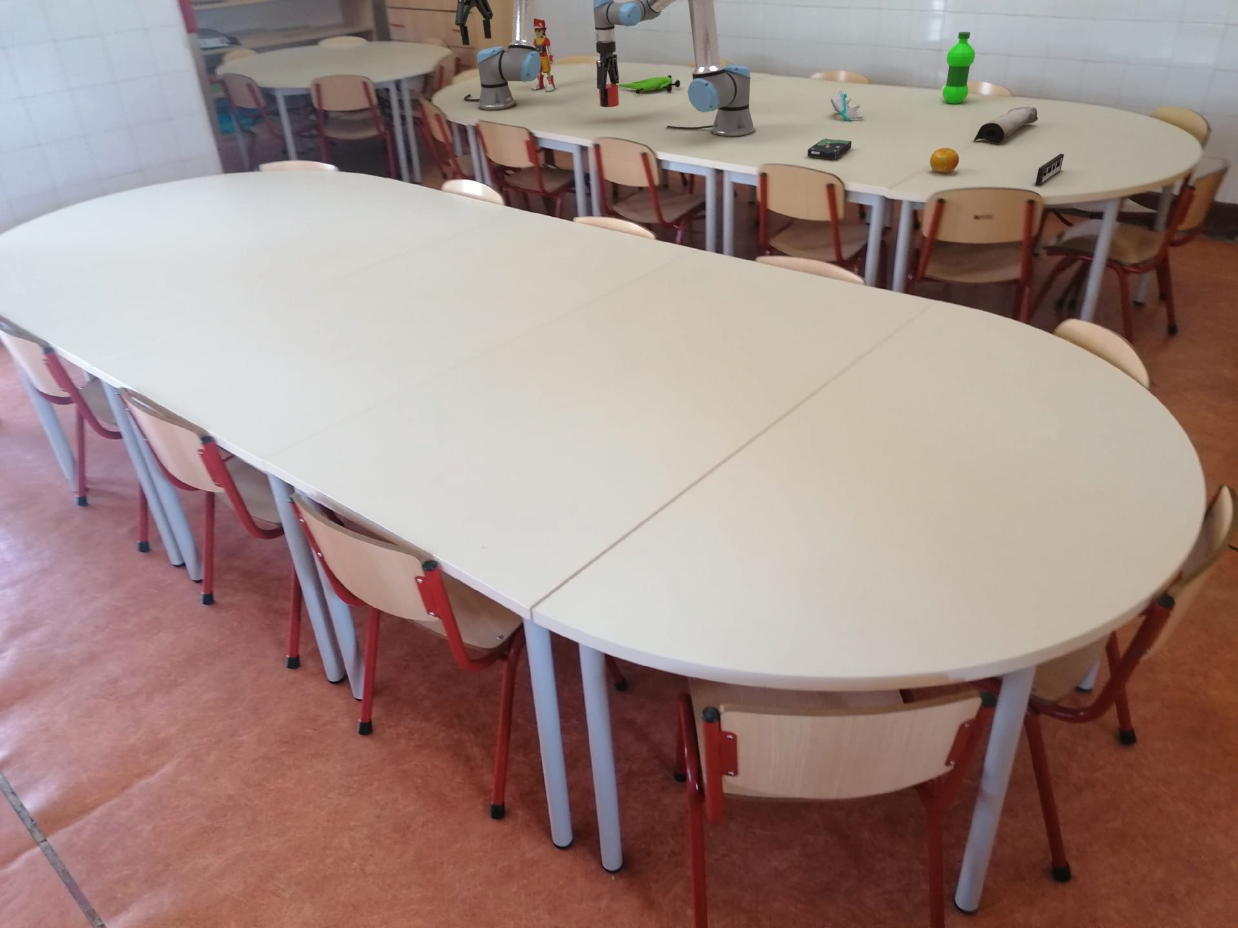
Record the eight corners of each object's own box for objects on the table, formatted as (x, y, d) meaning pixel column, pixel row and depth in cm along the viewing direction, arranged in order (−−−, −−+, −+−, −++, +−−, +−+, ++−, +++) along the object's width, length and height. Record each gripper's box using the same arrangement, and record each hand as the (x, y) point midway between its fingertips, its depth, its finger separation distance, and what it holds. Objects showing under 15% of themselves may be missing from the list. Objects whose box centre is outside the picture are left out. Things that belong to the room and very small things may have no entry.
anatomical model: (825, 90, 346) (851, 83, 346) (828, 117, 352) (853, 110, 352) (836, 99, 334) (863, 92, 333) (839, 127, 340) (865, 120, 339)
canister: (606, 108, 350) (604, 89, 346) (596, 105, 355) (595, 86, 351) (622, 105, 353) (621, 86, 349) (612, 102, 358) (611, 83, 354)
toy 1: (527, 91, 410) (520, 18, 393) (536, 86, 417) (529, 15, 400) (551, 91, 406) (544, 19, 389) (559, 87, 413) (553, 15, 396)
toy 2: (689, 81, 403) (635, 80, 419) (688, 69, 400) (634, 69, 416) (655, 100, 386) (600, 99, 403) (654, 88, 383) (598, 87, 400)
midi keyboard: (1039, 185, 269) (1043, 168, 266) (1035, 184, 270) (1038, 168, 267) (1060, 170, 279) (1064, 154, 277) (1056, 169, 280) (1060, 153, 277)
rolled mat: (1005, 112, 327) (1029, 94, 319) (1019, 133, 327) (1043, 116, 319) (969, 134, 310) (993, 117, 301) (984, 157, 310) (1008, 139, 302)
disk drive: (836, 161, 300) (851, 148, 310) (836, 152, 298) (852, 140, 308) (806, 157, 305) (822, 145, 315) (807, 149, 303) (823, 137, 313)
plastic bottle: (973, 101, 354) (984, 32, 339) (955, 106, 349) (966, 36, 335) (952, 97, 361) (962, 29, 346) (934, 102, 356) (944, 33, 342)
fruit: (924, 163, 281) (941, 140, 278) (925, 165, 289) (941, 143, 286) (946, 178, 280) (963, 155, 277) (947, 180, 288) (963, 158, 285)
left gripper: (455, -16, 319) (464, 48, 332) (497, -26, 337) (504, 36, 349) (439, -17, 323) (448, 47, 335) (481, -26, 340) (489, 35, 352)
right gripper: (608, 36, 350) (612, 97, 363) (584, 46, 335) (589, 109, 348) (625, 36, 347) (628, 98, 360) (602, 46, 332) (606, 110, 345)
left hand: (477, 42), depth 342 cm, fingers open, 13 cm apart
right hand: (609, 104), depth 354 cm, fingers closed on canister, 7 cm apart
